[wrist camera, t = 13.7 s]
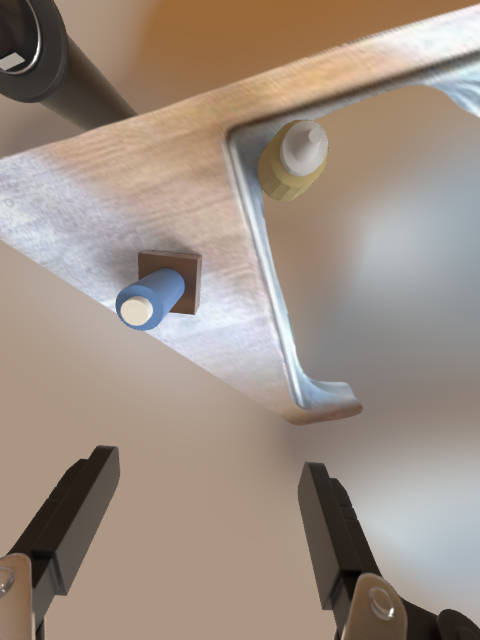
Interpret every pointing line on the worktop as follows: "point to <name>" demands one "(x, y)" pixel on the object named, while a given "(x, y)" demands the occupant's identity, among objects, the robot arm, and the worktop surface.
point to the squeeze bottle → (293, 160)
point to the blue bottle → (150, 299)
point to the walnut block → (184, 266)
